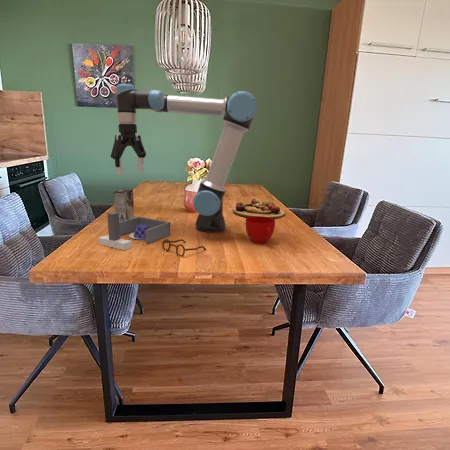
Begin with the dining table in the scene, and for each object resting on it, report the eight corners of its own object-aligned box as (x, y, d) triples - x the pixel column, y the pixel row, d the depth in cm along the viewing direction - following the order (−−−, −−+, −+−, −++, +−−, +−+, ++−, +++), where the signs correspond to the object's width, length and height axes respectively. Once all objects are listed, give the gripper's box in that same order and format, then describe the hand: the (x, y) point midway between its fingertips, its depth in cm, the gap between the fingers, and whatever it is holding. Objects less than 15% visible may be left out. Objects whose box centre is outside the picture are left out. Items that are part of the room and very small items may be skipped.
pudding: (124, 235, 145) (123, 224, 144) (147, 231, 154) (147, 220, 152) (137, 242, 137) (137, 230, 136) (161, 237, 145) (161, 226, 144)
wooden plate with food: (234, 219, 181) (235, 205, 179) (230, 206, 212) (231, 194, 209) (290, 221, 183) (291, 207, 180) (278, 208, 213) (280, 196, 211)
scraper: (131, 248, 130) (129, 214, 126) (124, 250, 126) (122, 216, 123) (106, 241, 136) (104, 209, 132) (99, 244, 133) (96, 211, 129)
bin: (170, 234, 148) (170, 222, 147) (147, 244, 135) (146, 230, 133) (139, 228, 157) (139, 216, 155) (115, 236, 143) (114, 223, 141)
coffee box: (123, 217, 175) (122, 188, 171) (134, 218, 174) (133, 189, 170) (115, 222, 166) (113, 191, 162) (126, 223, 165) (124, 192, 161)
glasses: (161, 250, 130) (161, 238, 128) (185, 243, 139) (185, 232, 138) (183, 259, 121) (183, 246, 120) (207, 250, 131) (207, 239, 130)
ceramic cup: (254, 249, 132) (255, 226, 130) (240, 237, 148) (241, 216, 145) (282, 247, 136) (284, 225, 133) (266, 236, 152) (268, 215, 149)
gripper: (139, 124, 150) (141, 170, 156) (98, 122, 128) (103, 175, 134) (152, 124, 147) (154, 171, 153) (113, 122, 125) (117, 176, 131)
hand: (130, 173), depth 143 cm, fingers open, 13 cm apart
